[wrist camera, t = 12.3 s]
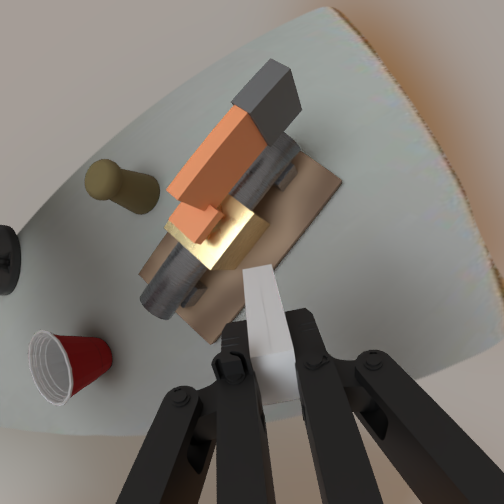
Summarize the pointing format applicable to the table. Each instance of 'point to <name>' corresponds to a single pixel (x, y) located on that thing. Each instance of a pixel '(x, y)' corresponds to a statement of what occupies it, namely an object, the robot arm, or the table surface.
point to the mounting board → (263, 252)
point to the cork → (122, 186)
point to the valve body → (221, 234)
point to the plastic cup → (66, 364)
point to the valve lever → (233, 148)
